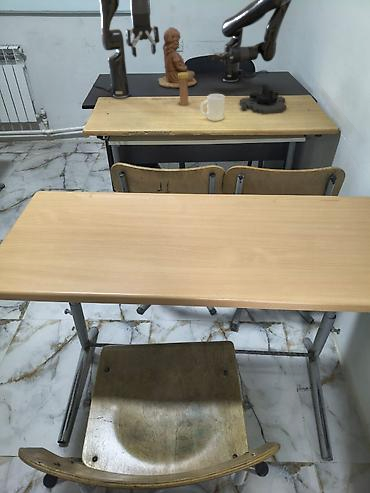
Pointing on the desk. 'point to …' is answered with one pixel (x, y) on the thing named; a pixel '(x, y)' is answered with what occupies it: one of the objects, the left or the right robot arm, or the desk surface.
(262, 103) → the abstract sculpture
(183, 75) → the lid
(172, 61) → the sculpture
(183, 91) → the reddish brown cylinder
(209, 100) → the mug
